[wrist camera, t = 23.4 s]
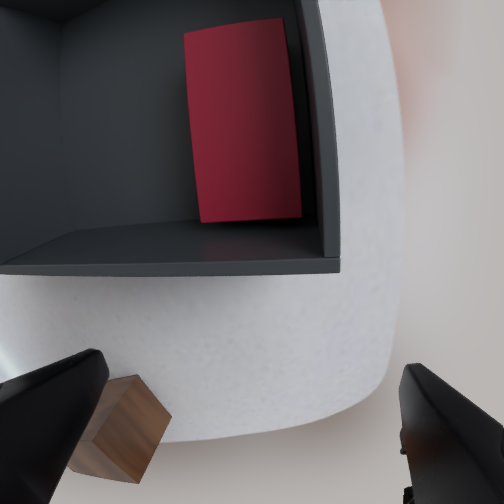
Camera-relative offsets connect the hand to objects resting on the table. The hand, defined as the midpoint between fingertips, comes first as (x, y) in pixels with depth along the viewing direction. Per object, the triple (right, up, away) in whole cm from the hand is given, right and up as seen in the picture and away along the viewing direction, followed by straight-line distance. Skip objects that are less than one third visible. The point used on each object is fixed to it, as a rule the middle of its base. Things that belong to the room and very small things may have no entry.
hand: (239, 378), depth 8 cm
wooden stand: (-14, -13, +20) cm, 28 cm away
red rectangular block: (0, +11, +9) cm, 14 cm away
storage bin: (-5, +14, +10) cm, 18 cm away
